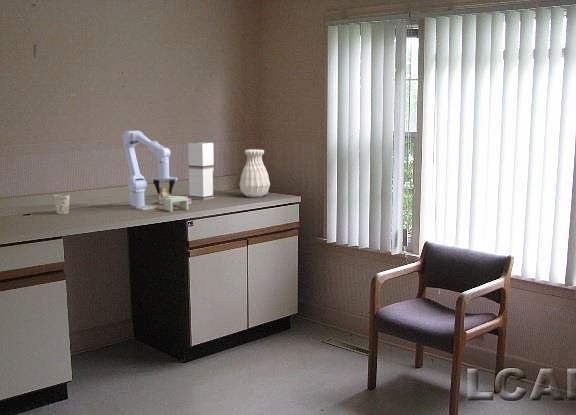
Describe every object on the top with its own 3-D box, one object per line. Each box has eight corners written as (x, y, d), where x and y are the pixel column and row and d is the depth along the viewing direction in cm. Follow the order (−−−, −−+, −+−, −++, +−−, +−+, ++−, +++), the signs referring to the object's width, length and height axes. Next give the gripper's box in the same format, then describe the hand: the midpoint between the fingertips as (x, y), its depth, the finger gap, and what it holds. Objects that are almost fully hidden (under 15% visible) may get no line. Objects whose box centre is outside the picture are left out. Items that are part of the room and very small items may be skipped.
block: (159, 196, 370) (158, 187, 369) (166, 195, 373) (165, 186, 372) (163, 196, 367) (162, 188, 366) (170, 196, 370) (169, 187, 369)
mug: (55, 214, 354) (54, 196, 352) (52, 211, 365) (51, 193, 363) (71, 213, 358) (70, 195, 356) (67, 210, 369) (67, 192, 367)
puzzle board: (133, 209, 371) (133, 207, 370) (167, 205, 385) (166, 203, 385) (154, 215, 354) (153, 212, 353) (188, 210, 368) (188, 208, 368)
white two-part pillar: (214, 198, 417) (213, 142, 412) (203, 200, 408) (202, 143, 403) (200, 196, 423) (199, 142, 418) (189, 198, 415) (188, 143, 409)
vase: (235, 198, 418) (234, 150, 413) (244, 193, 437) (243, 148, 432) (265, 199, 413) (265, 151, 409) (273, 194, 433) (273, 149, 428)
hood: (164, 210, 363) (164, 198, 362) (181, 208, 371) (181, 196, 370) (171, 211, 358) (170, 199, 357) (188, 209, 365) (188, 197, 364)
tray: (136, 208, 370) (136, 206, 370) (148, 207, 375) (148, 205, 375) (143, 210, 364) (143, 208, 364) (155, 208, 369) (155, 206, 369)
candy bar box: (191, 204, 393) (165, 203, 396) (191, 196, 392) (166, 195, 396) (184, 205, 382) (158, 204, 385) (184, 197, 381) (158, 196, 385)
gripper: (178, 168, 371) (178, 192, 373) (152, 168, 372) (153, 192, 374) (175, 170, 364) (176, 194, 366) (149, 169, 365) (150, 194, 367)
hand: (164, 193), depth 370 cm, fingers closed on block, 6 cm apart
